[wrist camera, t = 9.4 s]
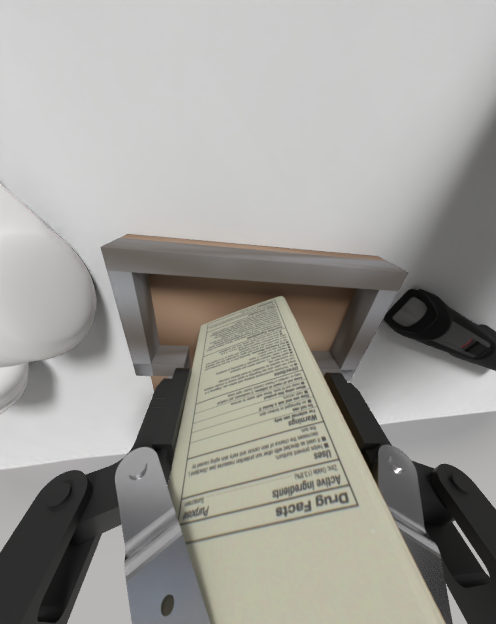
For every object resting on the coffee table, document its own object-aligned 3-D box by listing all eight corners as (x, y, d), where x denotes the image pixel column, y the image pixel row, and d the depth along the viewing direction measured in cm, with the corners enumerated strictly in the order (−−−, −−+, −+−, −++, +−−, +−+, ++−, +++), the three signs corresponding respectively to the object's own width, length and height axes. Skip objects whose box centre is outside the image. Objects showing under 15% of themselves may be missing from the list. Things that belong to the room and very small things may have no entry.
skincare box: (224, 363, 16) (207, 666, 6) (198, 322, 14) (103, 694, 4) (302, 338, 16) (436, 650, 5) (287, 291, 13) (473, 673, 3)
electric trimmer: (478, 366, 22) (512, 391, 19) (376, 318, 17) (402, 343, 15) (514, 341, 20) (557, 365, 18) (411, 281, 16) (449, 302, 13)
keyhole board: (127, 234, 12) (100, 247, 10) (377, 256, 14) (408, 272, 12) (163, 410, 22) (154, 440, 20) (308, 411, 24) (317, 438, 21)
